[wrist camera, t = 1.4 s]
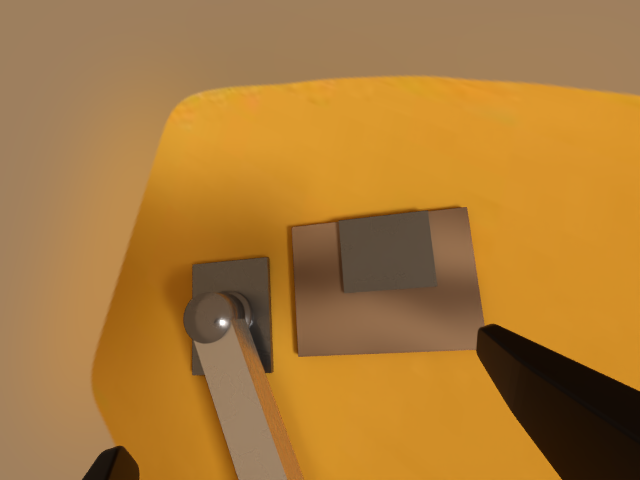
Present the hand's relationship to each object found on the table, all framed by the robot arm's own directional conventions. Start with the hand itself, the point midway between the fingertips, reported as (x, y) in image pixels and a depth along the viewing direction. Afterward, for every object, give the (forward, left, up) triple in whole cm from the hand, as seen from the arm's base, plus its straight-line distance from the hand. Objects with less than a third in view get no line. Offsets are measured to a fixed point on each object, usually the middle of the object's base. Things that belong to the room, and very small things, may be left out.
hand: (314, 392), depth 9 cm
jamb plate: (+2, +10, -16) cm, 19 cm away
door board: (+3, -1, -16) cm, 16 cm away
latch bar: (-4, +8, -14) cm, 17 cm away
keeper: (+5, -2, -16) cm, 17 cm away
